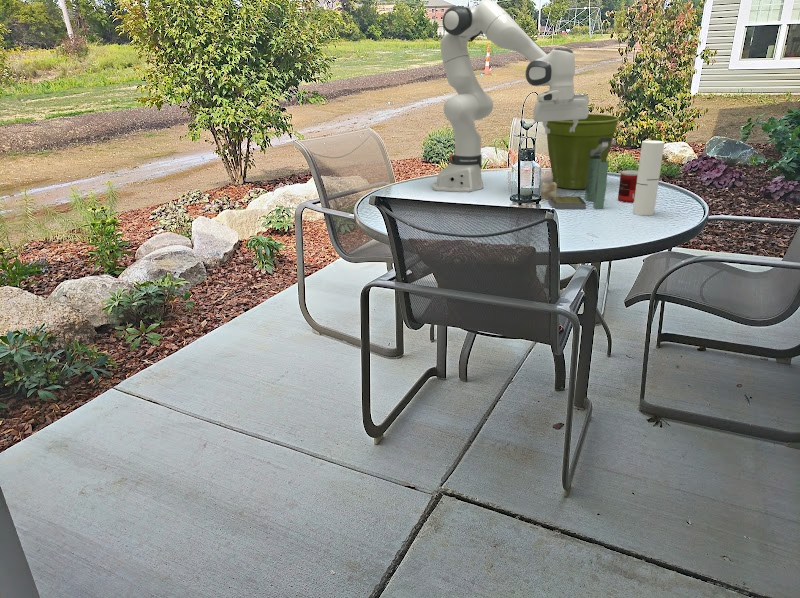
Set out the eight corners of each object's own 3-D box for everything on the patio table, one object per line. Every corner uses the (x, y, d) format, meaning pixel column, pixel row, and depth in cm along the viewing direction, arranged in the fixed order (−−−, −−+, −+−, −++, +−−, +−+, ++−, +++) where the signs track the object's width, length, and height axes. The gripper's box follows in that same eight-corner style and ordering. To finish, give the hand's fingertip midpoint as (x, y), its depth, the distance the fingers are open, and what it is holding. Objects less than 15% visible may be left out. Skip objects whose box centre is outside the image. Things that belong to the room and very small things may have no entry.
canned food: (639, 198, 231) (643, 170, 227) (637, 203, 225) (641, 174, 221) (618, 197, 235) (622, 169, 230) (616, 201, 228) (619, 173, 224)
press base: (552, 209, 219) (556, 163, 213) (546, 198, 235) (549, 155, 228) (605, 209, 218) (610, 162, 211) (594, 198, 233) (599, 155, 227)
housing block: (542, 199, 234) (543, 184, 232) (541, 197, 238) (542, 182, 236) (555, 199, 233) (556, 184, 231) (553, 196, 238) (554, 182, 236)
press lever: (589, 158, 226) (589, 149, 226) (599, 158, 226) (600, 149, 226) (600, 147, 210) (600, 138, 210) (611, 147, 210) (611, 137, 210)
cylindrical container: (655, 215, 207) (666, 143, 198) (634, 215, 209) (643, 143, 199) (651, 210, 214) (662, 140, 204) (631, 210, 215) (640, 140, 206)
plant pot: (542, 178, 274) (546, 113, 263) (609, 180, 266) (617, 113, 255) (538, 191, 247) (543, 120, 236) (612, 194, 240) (621, 121, 229)
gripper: (586, 92, 223) (584, 130, 228) (532, 96, 223) (531, 133, 228) (591, 93, 217) (589, 132, 222) (536, 96, 217) (535, 135, 222)
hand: (559, 132), depth 225 cm, fingers open, 8 cm apart
